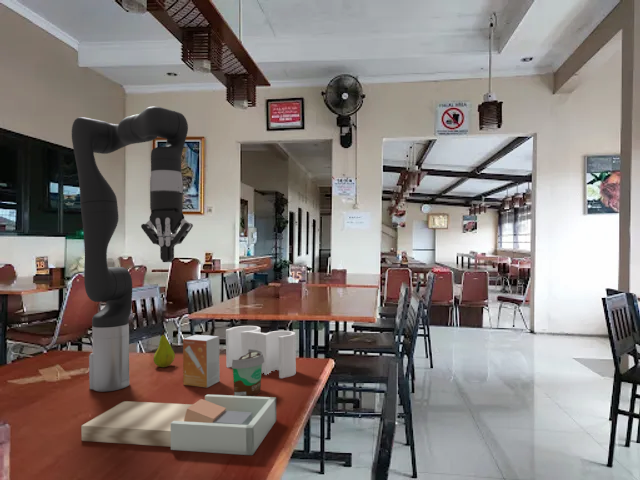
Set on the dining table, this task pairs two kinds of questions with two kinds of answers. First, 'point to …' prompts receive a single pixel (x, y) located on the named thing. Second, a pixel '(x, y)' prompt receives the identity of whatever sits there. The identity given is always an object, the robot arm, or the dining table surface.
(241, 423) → the tile
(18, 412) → the dining table surface
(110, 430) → the beige slab
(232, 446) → the tray
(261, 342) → the bracket
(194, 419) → the tile
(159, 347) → the fruit
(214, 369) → the small box
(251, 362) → the food container
